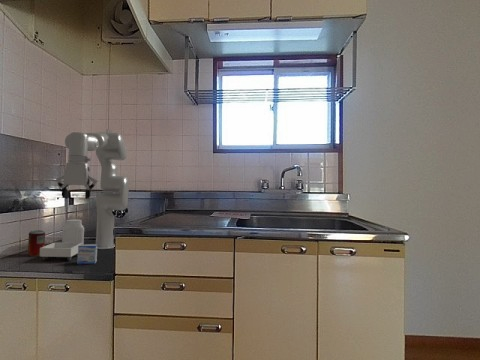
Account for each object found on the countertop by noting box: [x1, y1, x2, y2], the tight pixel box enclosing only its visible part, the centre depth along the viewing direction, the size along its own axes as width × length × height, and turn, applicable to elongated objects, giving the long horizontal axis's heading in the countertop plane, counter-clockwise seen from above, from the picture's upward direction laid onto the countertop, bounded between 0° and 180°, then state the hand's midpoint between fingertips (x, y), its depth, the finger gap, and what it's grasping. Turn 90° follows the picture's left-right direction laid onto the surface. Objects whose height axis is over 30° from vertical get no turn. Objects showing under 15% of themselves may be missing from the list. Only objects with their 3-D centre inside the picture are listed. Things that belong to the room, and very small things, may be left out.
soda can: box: [27, 229, 46, 257], centre depth 162 cm, size 7×7×12 cm
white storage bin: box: [39, 241, 82, 261], centre depth 158 cm, size 14×14×6 cm
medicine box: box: [76, 243, 98, 265], centre depth 152 cm, size 8×4×9 cm, turn 106°
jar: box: [61, 219, 85, 244], centre depth 188 cm, size 12×10×15 cm
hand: (76, 198), depth 143 cm, fingers open, 9 cm apart
